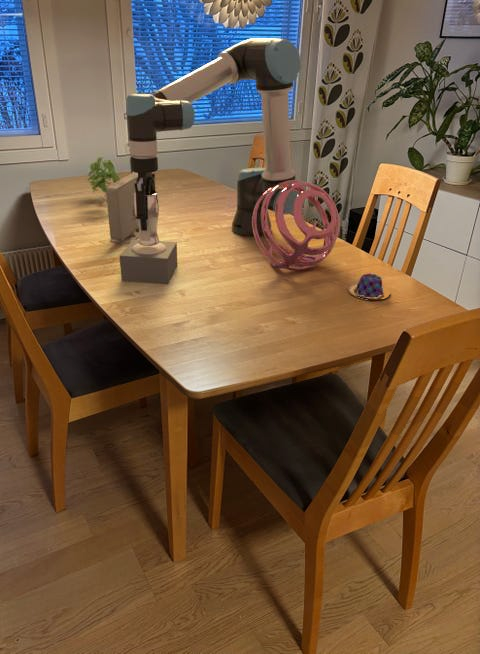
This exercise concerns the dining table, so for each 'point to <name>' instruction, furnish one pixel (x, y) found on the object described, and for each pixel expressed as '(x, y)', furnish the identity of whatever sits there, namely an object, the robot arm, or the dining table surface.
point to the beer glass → (150, 219)
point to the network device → (122, 209)
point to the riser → (149, 262)
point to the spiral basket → (310, 232)
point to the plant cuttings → (102, 175)
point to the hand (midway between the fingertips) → (148, 236)
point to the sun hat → (369, 286)
